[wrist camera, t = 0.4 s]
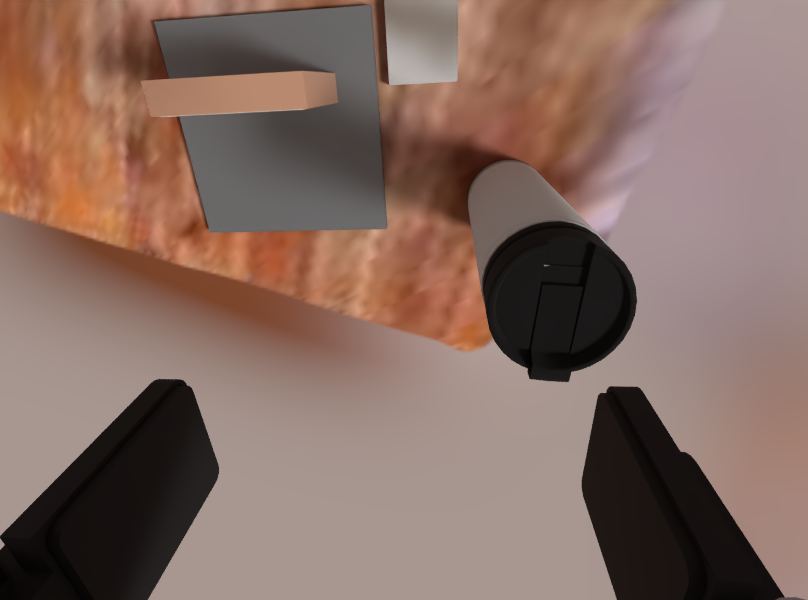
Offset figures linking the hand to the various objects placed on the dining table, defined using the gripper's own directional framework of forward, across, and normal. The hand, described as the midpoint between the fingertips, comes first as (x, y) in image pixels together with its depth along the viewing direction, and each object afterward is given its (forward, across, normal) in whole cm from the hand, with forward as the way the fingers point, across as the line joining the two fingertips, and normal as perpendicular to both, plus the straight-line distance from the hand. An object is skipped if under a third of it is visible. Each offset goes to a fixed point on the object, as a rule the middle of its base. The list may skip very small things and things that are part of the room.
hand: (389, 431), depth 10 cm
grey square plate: (+28, +12, -4) cm, 31 cm away
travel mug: (+29, -6, +2) cm, 29 cm away
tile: (+28, +12, -7) cm, 31 cm away
